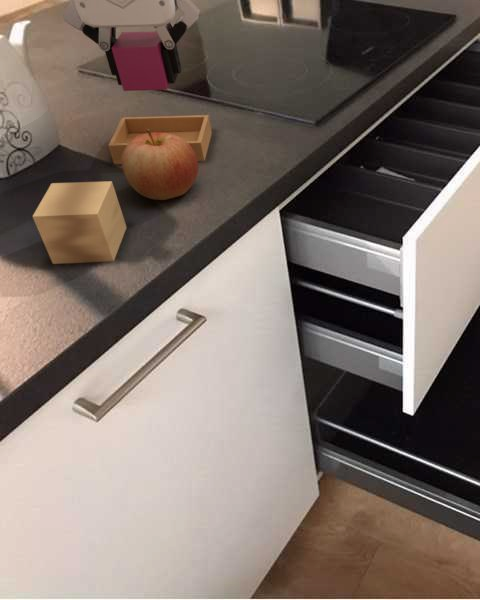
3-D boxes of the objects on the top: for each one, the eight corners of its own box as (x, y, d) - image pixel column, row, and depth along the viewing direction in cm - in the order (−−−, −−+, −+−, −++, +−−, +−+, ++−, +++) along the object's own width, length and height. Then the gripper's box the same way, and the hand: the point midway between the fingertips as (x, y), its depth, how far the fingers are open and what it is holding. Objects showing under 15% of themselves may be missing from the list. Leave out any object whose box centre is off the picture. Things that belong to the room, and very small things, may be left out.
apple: (116, 196, 76) (96, 133, 70) (170, 168, 81) (155, 107, 75) (162, 220, 72) (144, 155, 67) (216, 189, 77) (203, 126, 72)
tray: (114, 165, 81) (107, 145, 79) (127, 137, 86) (121, 117, 85) (205, 162, 82) (200, 142, 80) (212, 134, 87) (208, 114, 86)
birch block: (53, 265, 66) (32, 216, 62) (70, 231, 71) (51, 183, 67) (114, 263, 67) (97, 213, 63) (127, 228, 71) (112, 180, 67)
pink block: (123, 91, 76) (111, 48, 73) (132, 73, 80) (121, 32, 77) (167, 89, 77) (157, 46, 73) (174, 72, 80) (165, 30, 77)
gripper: (3, -87, 63) (66, 95, 75) (185, -89, 64) (218, 90, 76) (29, -103, 68) (83, 69, 80) (195, -104, 69) (225, 65, 81)
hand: (148, 78), depth 78 cm, fingers closed on pink block, 5 cm apart
